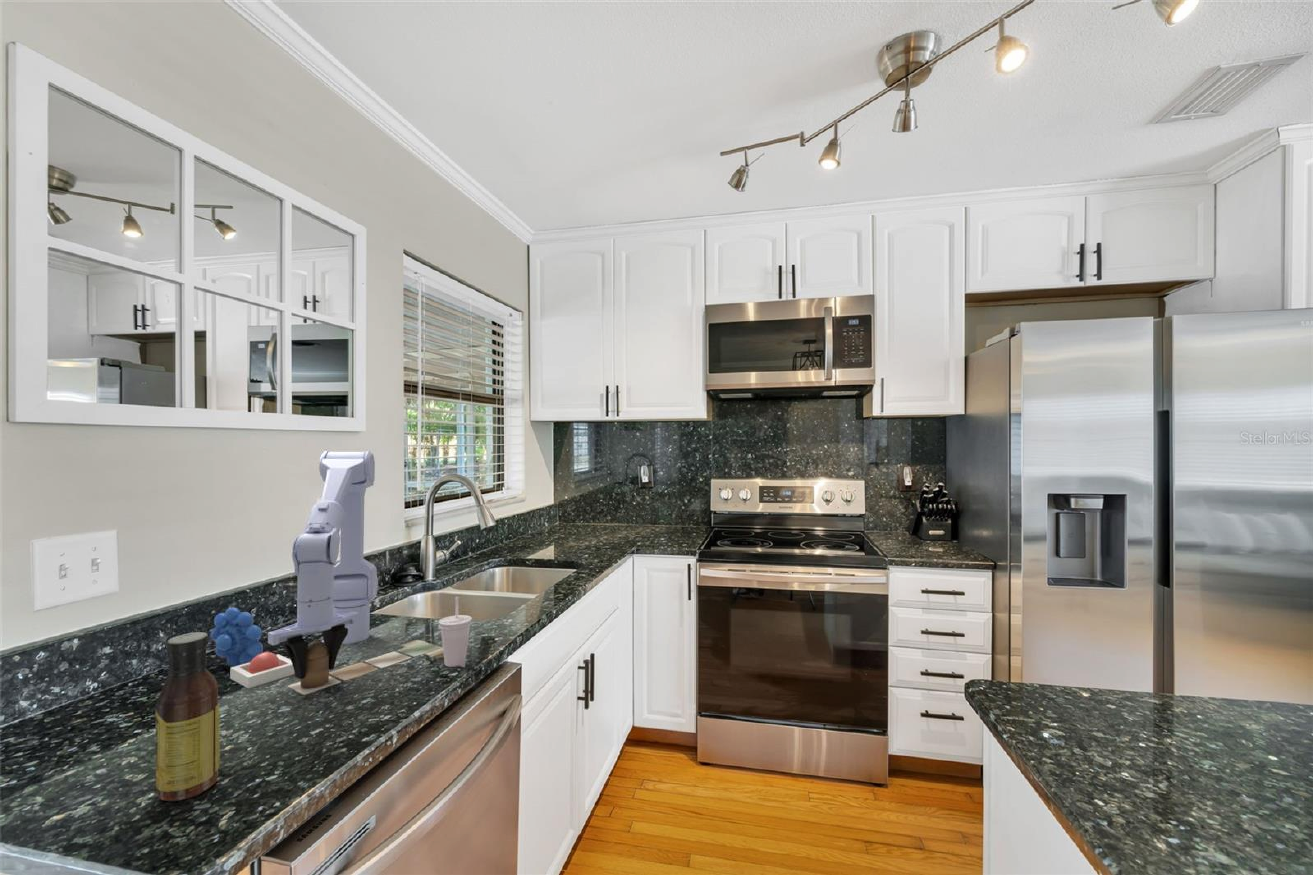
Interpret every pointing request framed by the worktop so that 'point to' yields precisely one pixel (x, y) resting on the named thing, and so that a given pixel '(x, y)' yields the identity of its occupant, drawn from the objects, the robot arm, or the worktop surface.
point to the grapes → (236, 637)
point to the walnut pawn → (316, 665)
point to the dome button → (263, 662)
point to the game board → (381, 661)
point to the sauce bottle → (187, 722)
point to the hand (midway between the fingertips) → (314, 672)
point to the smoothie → (455, 638)
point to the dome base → (261, 673)
